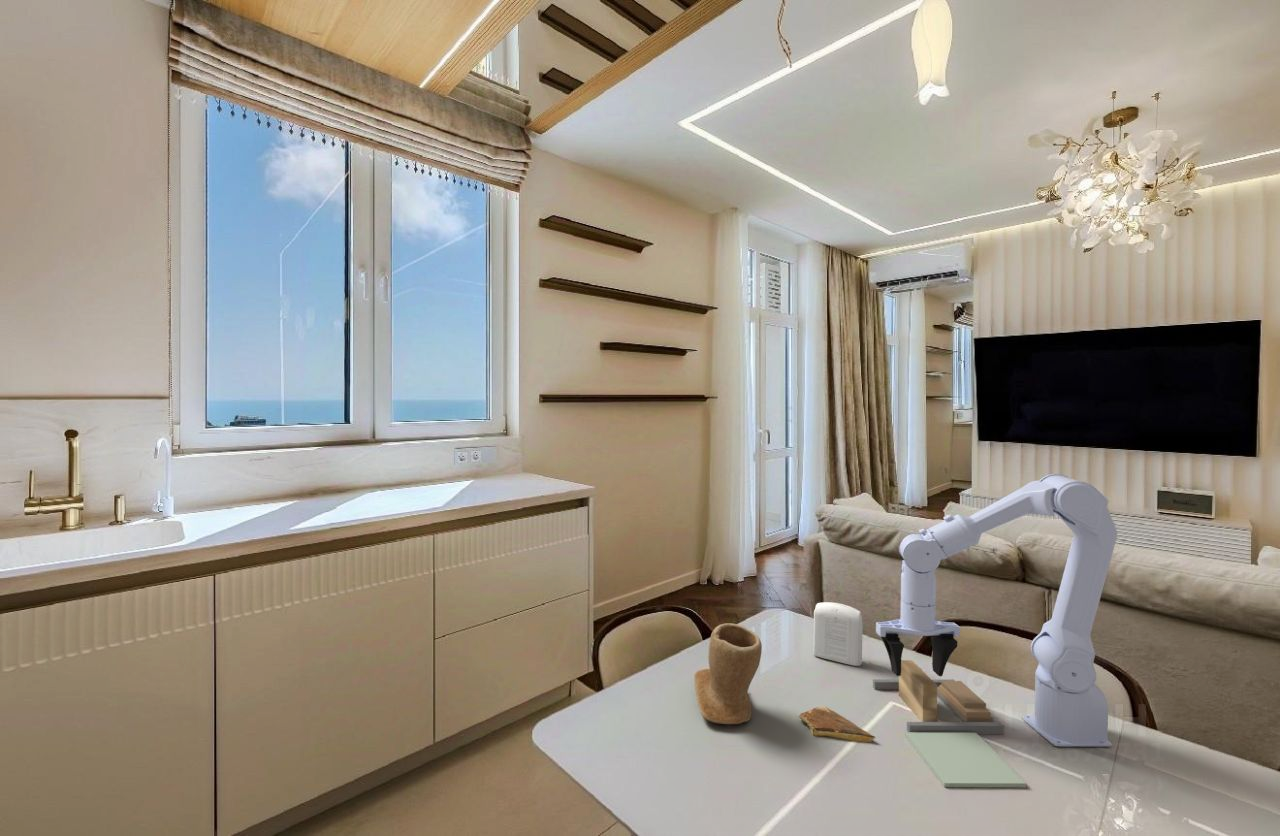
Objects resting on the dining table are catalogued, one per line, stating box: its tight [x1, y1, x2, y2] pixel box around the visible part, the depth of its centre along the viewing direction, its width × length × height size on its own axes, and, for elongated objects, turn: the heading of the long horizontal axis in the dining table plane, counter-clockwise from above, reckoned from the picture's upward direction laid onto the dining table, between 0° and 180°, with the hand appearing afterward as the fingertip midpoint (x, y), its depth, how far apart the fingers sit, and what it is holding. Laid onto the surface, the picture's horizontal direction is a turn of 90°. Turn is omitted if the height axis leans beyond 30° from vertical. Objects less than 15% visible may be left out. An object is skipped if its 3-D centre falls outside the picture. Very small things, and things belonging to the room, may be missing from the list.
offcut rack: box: [872, 678, 1005, 735], centre depth 98 cm, size 16×15×3 cm
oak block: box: [898, 659, 938, 722], centre depth 98 cm, size 2×9×7 cm, turn 179°
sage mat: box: [904, 731, 1027, 788], centre depth 85 cm, size 12×12×1 cm
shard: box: [798, 706, 876, 743], centre depth 92 cm, size 11×8×2 cm
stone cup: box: [693, 622, 763, 725], centre depth 100 cm, size 15×12×15 cm
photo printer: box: [812, 601, 863, 667], centre depth 117 cm, size 10×4×12 cm, turn 59°
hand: (916, 673), depth 98 cm, fingers open, 7 cm apart
